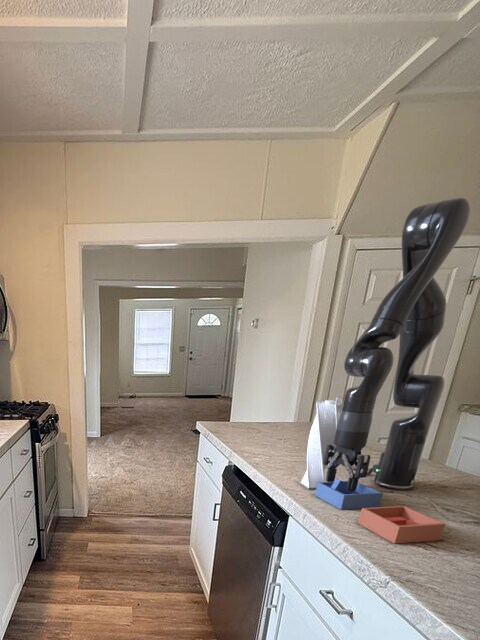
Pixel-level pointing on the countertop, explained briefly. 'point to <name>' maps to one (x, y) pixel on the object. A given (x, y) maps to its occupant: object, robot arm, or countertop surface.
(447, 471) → the countertop surface
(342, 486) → the blue stepped block
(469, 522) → the countertop surface
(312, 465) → the skyscraper
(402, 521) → the red stepped block
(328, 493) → the blue bin
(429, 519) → the terracotta bin
